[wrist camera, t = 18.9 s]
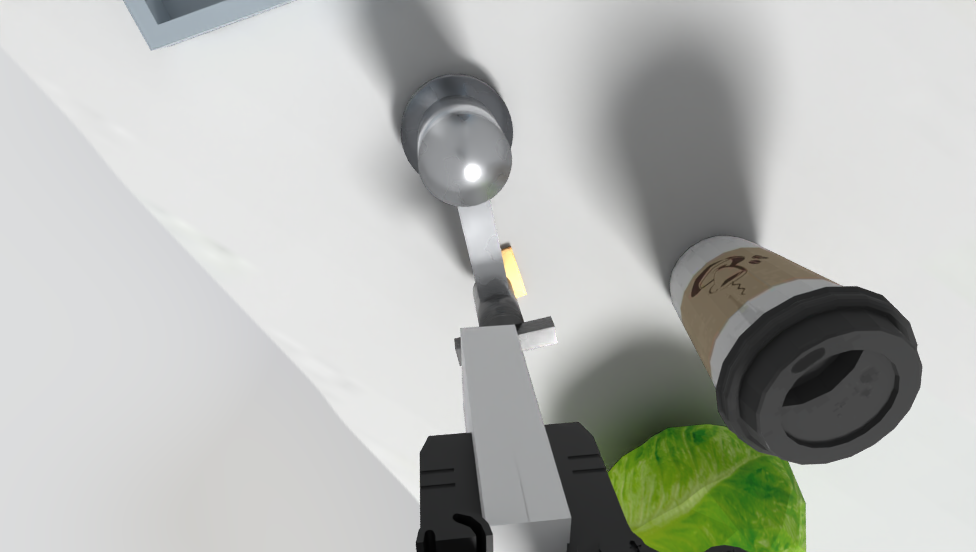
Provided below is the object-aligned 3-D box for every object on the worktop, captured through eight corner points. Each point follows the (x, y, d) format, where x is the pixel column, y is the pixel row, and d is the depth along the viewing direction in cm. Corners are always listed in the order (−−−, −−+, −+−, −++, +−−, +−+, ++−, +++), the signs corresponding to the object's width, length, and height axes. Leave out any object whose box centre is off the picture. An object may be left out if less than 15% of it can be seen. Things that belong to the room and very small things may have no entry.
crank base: (384, 95, 36) (383, 99, 35) (491, 58, 36) (494, 60, 35) (468, 311, 44) (470, 319, 43) (557, 281, 43) (561, 289, 42)
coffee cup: (738, 175, 41) (893, 266, 28) (810, 277, 46) (973, 397, 32) (612, 277, 44) (698, 405, 30) (692, 364, 48) (797, 509, 35)
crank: (400, 106, 35) (396, 135, 28) (497, 84, 35) (516, 107, 29) (455, 314, 42) (462, 376, 35) (536, 295, 42) (559, 353, 35)
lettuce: (516, 488, 52) (547, 639, 40) (703, 355, 48) (800, 480, 36) (613, 565, 59) (664, 716, 46) (786, 453, 54) (893, 587, 42)
